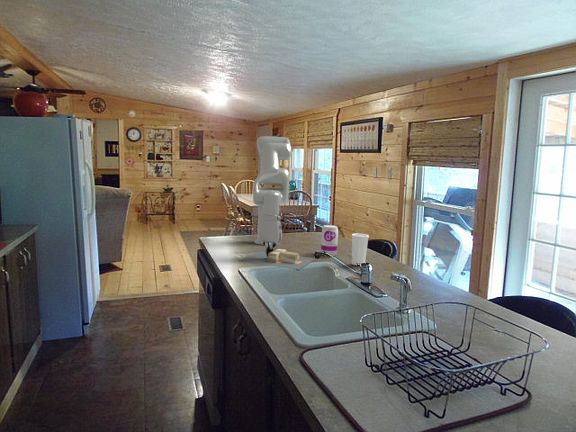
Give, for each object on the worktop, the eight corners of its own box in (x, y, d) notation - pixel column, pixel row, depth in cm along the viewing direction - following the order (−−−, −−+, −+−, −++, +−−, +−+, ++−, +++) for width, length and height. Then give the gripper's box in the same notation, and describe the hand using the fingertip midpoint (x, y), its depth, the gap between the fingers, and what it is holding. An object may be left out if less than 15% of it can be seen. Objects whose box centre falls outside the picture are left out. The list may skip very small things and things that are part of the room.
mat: (260, 251, 222) (260, 251, 222) (315, 259, 212) (315, 258, 212) (237, 261, 200) (237, 260, 200) (298, 270, 189) (298, 269, 189)
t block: (278, 256, 212) (279, 248, 211) (301, 259, 207) (301, 251, 207) (268, 261, 201) (268, 253, 200) (292, 265, 196) (292, 256, 196)
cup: (368, 264, 207) (370, 234, 205) (365, 267, 199) (367, 237, 197) (351, 262, 209) (353, 232, 207) (348, 265, 202) (349, 235, 200)
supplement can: (335, 257, 217) (337, 228, 215) (319, 256, 218) (321, 226, 216) (337, 254, 225) (339, 225, 223) (321, 252, 226) (323, 224, 224)
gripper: (288, 218, 205) (286, 256, 208) (260, 215, 211) (258, 252, 213) (282, 220, 199) (280, 259, 201) (253, 217, 204) (251, 255, 206)
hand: (269, 256), depth 207 cm, fingers closed
